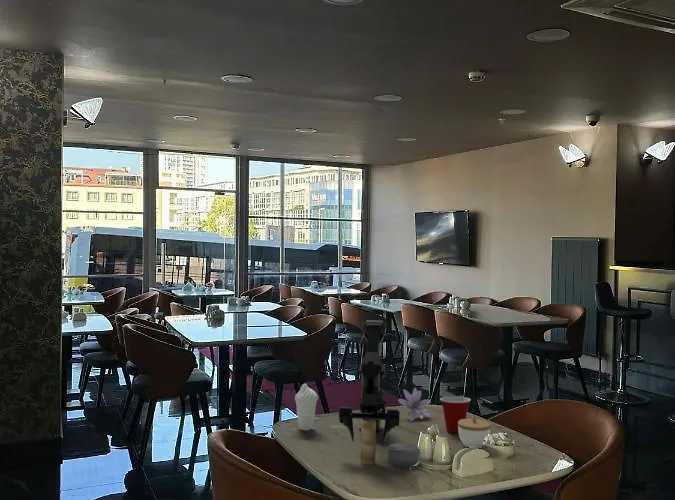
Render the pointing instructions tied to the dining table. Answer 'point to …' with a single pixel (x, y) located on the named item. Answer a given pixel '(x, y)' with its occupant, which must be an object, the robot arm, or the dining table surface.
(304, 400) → the soft serve ice cream cone
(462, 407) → the plastic cup
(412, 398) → the water lily
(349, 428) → the robot arm
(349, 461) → the dining table surface
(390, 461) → the grey round bowl
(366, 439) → the oak pillar
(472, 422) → the lidded jar
